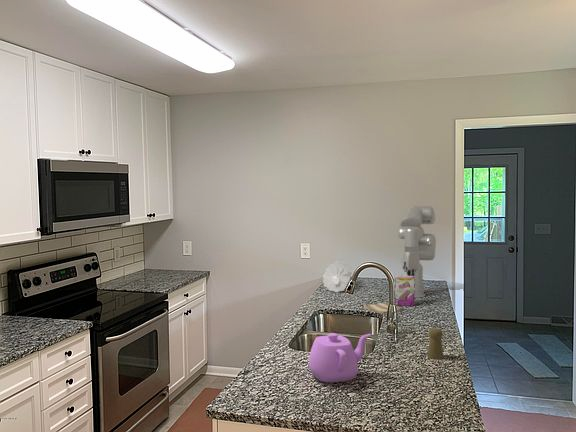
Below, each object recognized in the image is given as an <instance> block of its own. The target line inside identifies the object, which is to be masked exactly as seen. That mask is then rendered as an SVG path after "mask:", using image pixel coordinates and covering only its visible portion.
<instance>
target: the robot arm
mask: <svg viewBox="0 0 576 432" xmlns="http://www.w3.org/2000/svg"><path fill="white" fill-rule="evenodd" d="M435 221H436V212H435V210H434V208H433V207H432V206H431V205H415V206H413V207H411V208H410V210H409V213H408V214H407V218H405V219H403V220H402V221H400V223H399V224H398V228H397V237H398V238H399V239H401V240H404V252H402V253H403V254H402V259H401V260H402V262H401V269H402V270H403V272H404V273H406V276H414V277H415V295H414V299H415V298H417V299H418V298H424V297H425V296H426V293H424V292H427V291H428V288H427V287H423V286H424V284H423V283H424V281H423V280H424V279H423V278H424V276H423V275H424V273H423V272H424V271H423V270H424V269H423V265H422V264H421V262H420V261H433V260H434V259H435V256H436V248H437V246H436V245H437V244H436V243H437V238H436V236H435V235H434V234H433V233H425V230H424V229H423V228H422V225H434V223H435Z"/></svg>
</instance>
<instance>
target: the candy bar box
mask: <svg viewBox="0 0 576 432" xmlns="http://www.w3.org/2000/svg"><path fill="white" fill-rule="evenodd" d="M394 291H395V303H396V305H395V306H398V307H403V306H405V307H407V306H409V307H410V306H411V307H414V306H415V298H414V295H415V277H414V276H407V275H394V277H393V292H394Z"/></svg>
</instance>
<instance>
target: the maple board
mask: <svg viewBox="0 0 576 432" xmlns="http://www.w3.org/2000/svg"><path fill="white" fill-rule="evenodd" d="M389 304H390V303H386V302H378V303H375V304H369V305H364V306H363V309H365V310H367V309H368V310H367V311H370V310H371V312H374V313H378V314H381V315H387V309H388V305H389ZM395 306H396V308H397V312H401V311H404V307H403V306H399V305H395Z"/></svg>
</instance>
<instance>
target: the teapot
mask: <svg viewBox="0 0 576 432" xmlns="http://www.w3.org/2000/svg"><path fill="white" fill-rule="evenodd" d="M371 335H372V333H365V334H363V335H361V337H360V338H359V340H358V343H357V346H356V348H355V349H354V348H353V347H354V346H353V345H352V342H351V341H350V339H348V338H347V337H345V336H343V335H340V334H338V333H335V332H330V333H328V334H327V335H321V336H320V335H319V336H316V337H315V339H314V340H313V341H314V342H313V343H312V346H311V349H310V353H309V359H308V367H309V371H310V372H311V373H312V375H313V376H314V377H315V379H317V380H319V381H320V382H324V383H339V382H347V381H351V380H355V378H356V377H357V374H358V371H359V368H358V367H359V364H358V363H359V362H361V360H362V358H363V356H364V350H365V344H366V341H367V339H368V338H369V337H370V336H371Z"/></svg>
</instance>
